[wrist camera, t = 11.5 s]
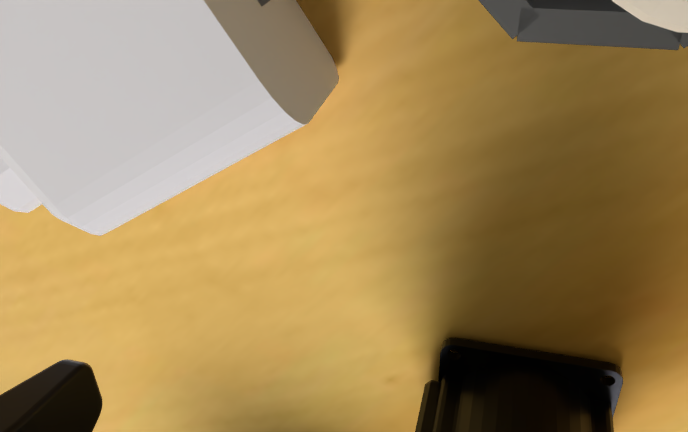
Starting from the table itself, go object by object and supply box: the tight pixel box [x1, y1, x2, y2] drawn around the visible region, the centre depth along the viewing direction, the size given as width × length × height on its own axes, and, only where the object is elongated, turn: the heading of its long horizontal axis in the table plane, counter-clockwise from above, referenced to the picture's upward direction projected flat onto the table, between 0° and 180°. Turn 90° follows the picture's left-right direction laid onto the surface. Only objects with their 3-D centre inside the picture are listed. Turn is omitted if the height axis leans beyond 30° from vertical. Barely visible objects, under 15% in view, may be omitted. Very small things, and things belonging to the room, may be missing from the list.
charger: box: [0, 0, 339, 236], centre depth 21 cm, size 5×9×15 cm
